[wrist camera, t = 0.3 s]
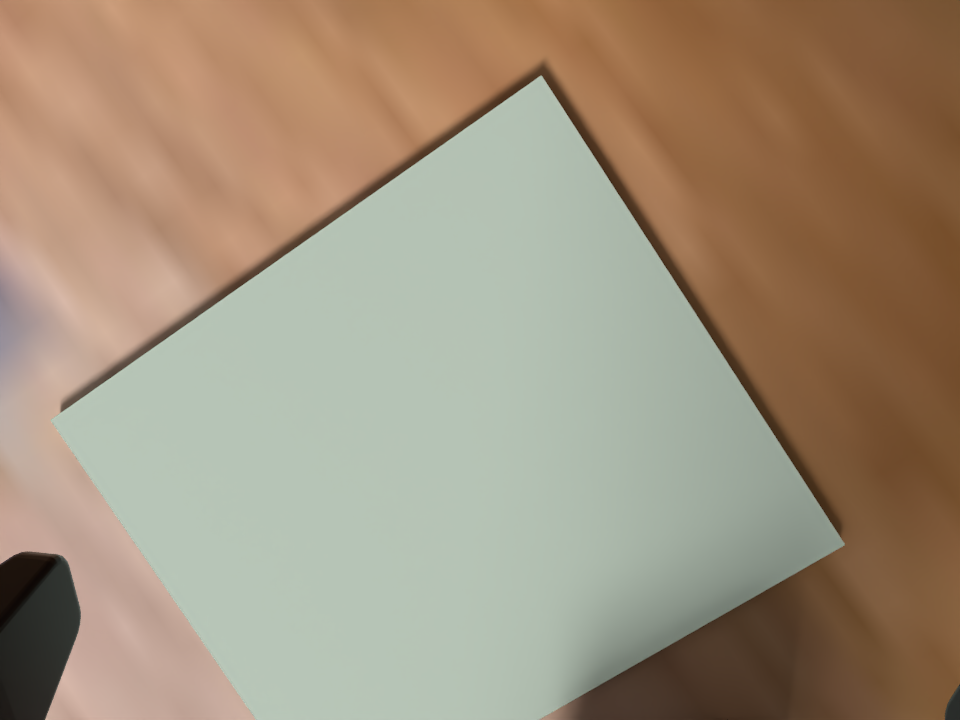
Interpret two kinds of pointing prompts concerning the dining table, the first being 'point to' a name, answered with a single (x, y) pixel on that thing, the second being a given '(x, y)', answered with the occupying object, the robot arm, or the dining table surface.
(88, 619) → the dining table surface
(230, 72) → the dining table surface
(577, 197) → the mat
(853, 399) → the dining table surface
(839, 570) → the dining table surface
